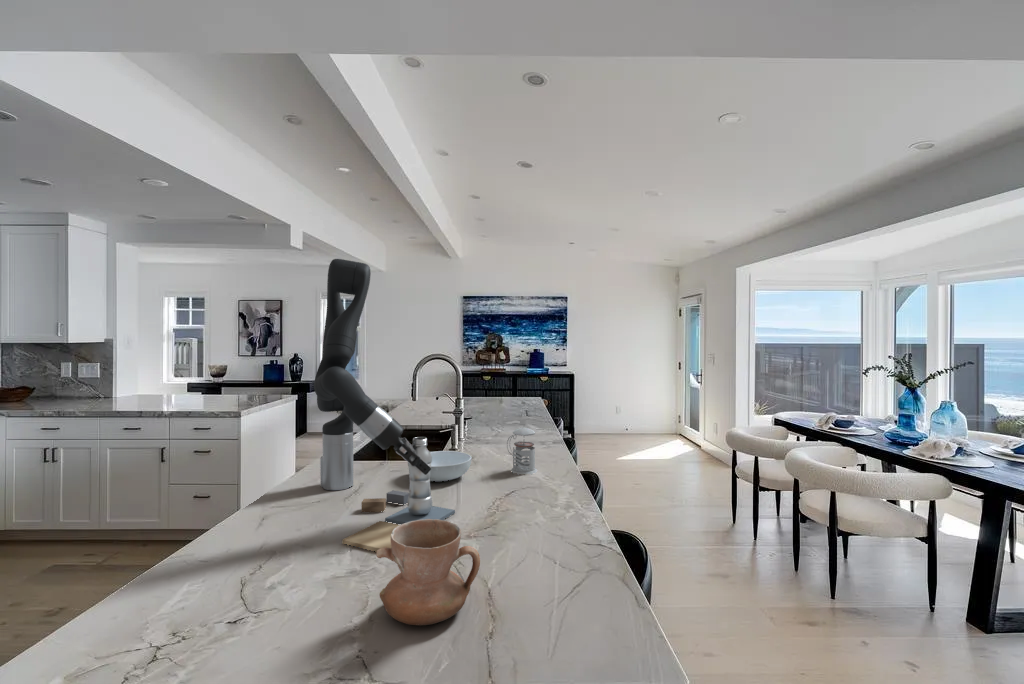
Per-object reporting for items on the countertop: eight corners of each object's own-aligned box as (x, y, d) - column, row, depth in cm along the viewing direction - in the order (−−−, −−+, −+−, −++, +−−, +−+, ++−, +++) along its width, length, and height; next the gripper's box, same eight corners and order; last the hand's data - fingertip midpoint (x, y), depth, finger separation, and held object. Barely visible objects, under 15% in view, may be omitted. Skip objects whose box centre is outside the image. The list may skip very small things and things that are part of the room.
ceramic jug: (367, 638, 81) (369, 550, 80) (382, 591, 95) (383, 516, 95) (480, 634, 82) (482, 548, 82) (478, 588, 97) (479, 515, 96)
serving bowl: (419, 468, 182) (419, 449, 182) (477, 470, 179) (476, 451, 179) (399, 486, 161) (399, 464, 161) (463, 488, 158) (463, 466, 158)
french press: (528, 476, 172) (528, 403, 171) (500, 471, 178) (500, 400, 177) (542, 469, 180) (543, 399, 179) (515, 465, 186) (515, 397, 186)
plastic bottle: (436, 511, 135) (437, 436, 135) (424, 519, 129) (424, 442, 129) (416, 507, 138) (416, 435, 137) (402, 516, 131) (402, 440, 131)
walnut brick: (361, 513, 137) (361, 502, 137) (364, 509, 140) (364, 498, 140) (383, 512, 138) (383, 501, 138) (385, 509, 141) (385, 498, 141)
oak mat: (342, 543, 117) (342, 539, 117) (379, 524, 128) (379, 520, 128) (386, 554, 111) (386, 550, 111) (421, 533, 123) (421, 529, 123)
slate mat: (385, 522, 130) (385, 518, 130) (415, 506, 142) (415, 502, 142) (426, 530, 125) (426, 526, 125) (454, 513, 136) (454, 509, 136)
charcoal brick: (386, 503, 145) (386, 493, 145) (393, 500, 148) (392, 490, 148) (403, 506, 143) (403, 495, 143) (410, 503, 145) (410, 492, 145)
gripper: (394, 420, 124) (440, 463, 128) (388, 412, 137) (430, 451, 141) (372, 444, 122) (419, 486, 126) (368, 433, 135) (411, 471, 139)
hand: (425, 467), depth 133 cm, fingers open, 8 cm apart
